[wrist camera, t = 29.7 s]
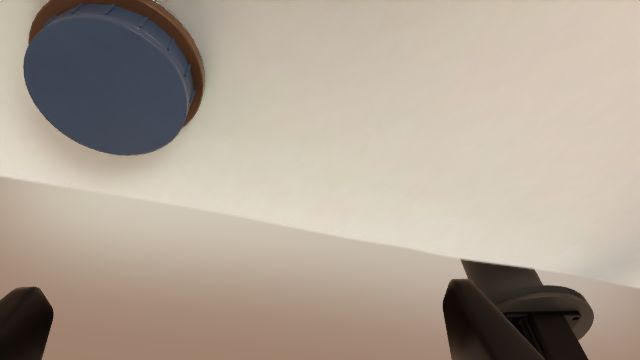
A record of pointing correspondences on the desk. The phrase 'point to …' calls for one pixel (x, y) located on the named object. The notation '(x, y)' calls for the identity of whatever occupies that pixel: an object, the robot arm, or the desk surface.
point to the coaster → (143, 5)
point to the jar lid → (109, 79)
